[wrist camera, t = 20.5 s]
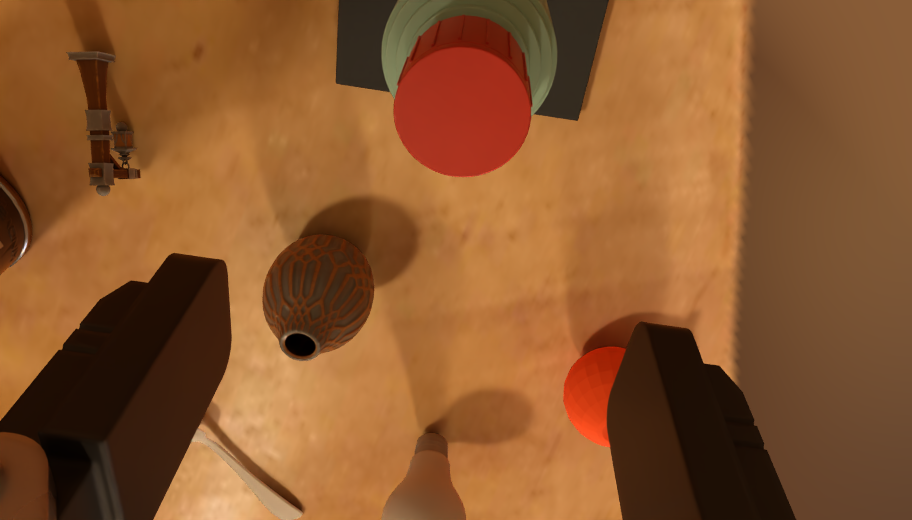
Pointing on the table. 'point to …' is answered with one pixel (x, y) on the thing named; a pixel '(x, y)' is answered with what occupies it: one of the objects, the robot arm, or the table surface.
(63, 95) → the table surface
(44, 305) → the table surface
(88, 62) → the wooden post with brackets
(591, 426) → the clementine
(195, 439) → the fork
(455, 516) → the lightbulb
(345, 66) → the coaster
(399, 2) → the bottle
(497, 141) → the cap
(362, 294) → the vase
